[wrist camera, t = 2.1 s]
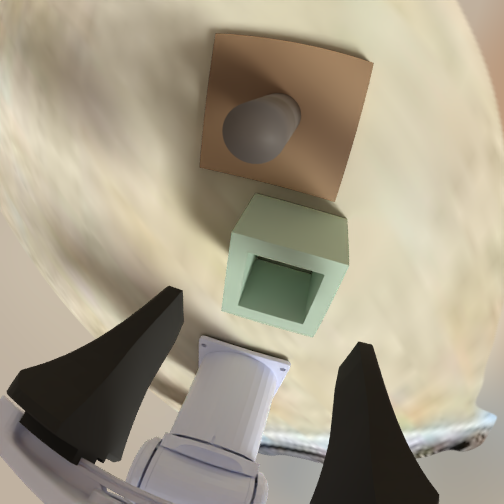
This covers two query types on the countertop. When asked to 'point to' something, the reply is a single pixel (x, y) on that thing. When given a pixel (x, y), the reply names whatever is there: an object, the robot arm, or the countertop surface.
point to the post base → (311, 86)
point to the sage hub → (290, 252)
